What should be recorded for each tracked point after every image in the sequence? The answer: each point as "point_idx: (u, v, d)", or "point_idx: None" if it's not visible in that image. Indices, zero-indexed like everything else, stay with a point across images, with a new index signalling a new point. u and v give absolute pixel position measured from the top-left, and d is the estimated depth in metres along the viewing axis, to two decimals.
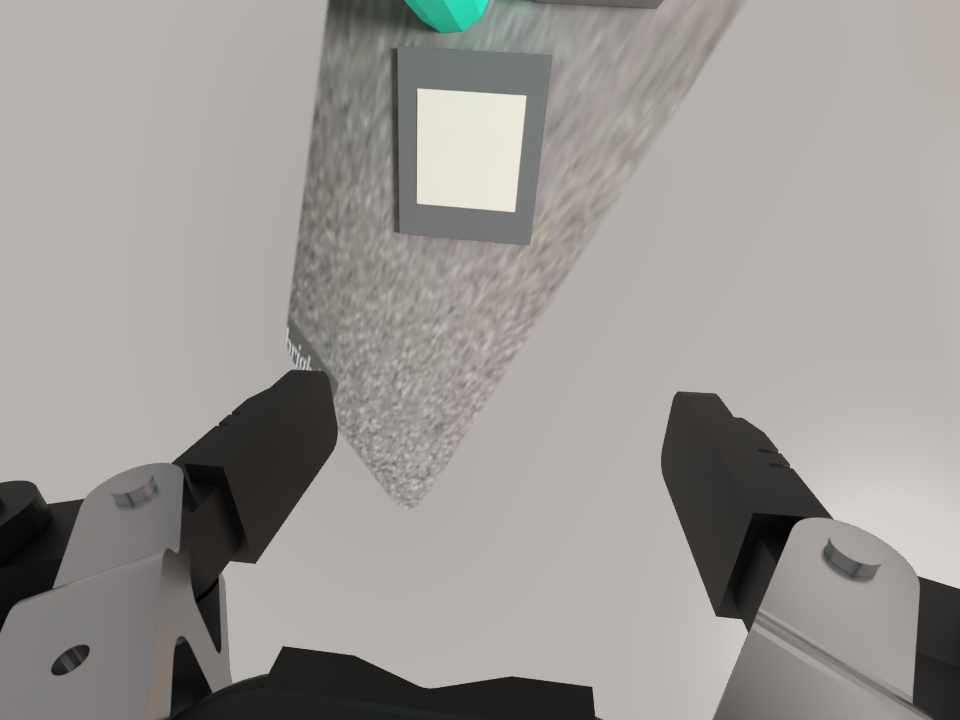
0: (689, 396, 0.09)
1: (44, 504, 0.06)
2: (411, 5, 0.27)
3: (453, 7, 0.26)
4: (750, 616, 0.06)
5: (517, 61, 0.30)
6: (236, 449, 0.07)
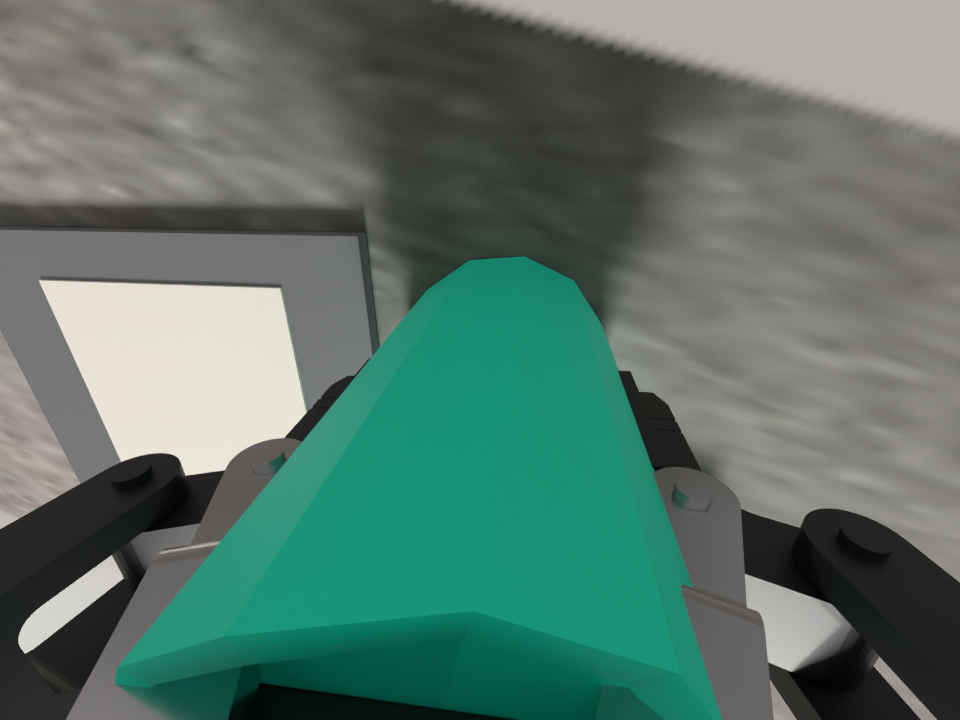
0: None
1: (184, 481, 0.07)
2: None
3: None
4: None
5: None
6: None
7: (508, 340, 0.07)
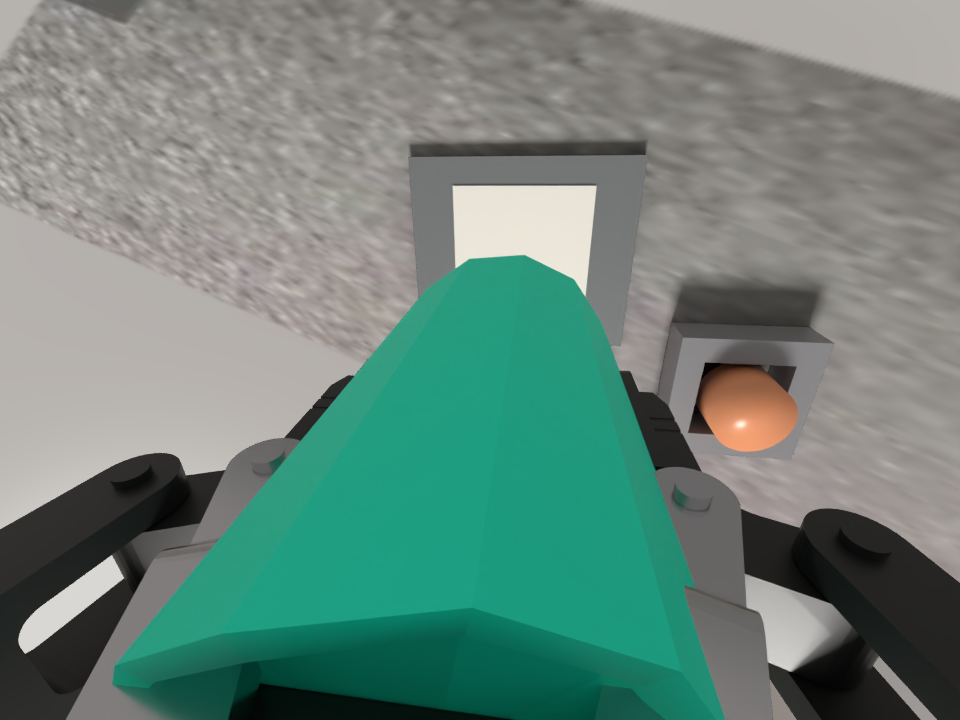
0: None
1: (184, 481, 0.07)
2: None
3: None
4: None
5: (617, 310, 0.27)
6: None
7: (508, 338, 0.07)
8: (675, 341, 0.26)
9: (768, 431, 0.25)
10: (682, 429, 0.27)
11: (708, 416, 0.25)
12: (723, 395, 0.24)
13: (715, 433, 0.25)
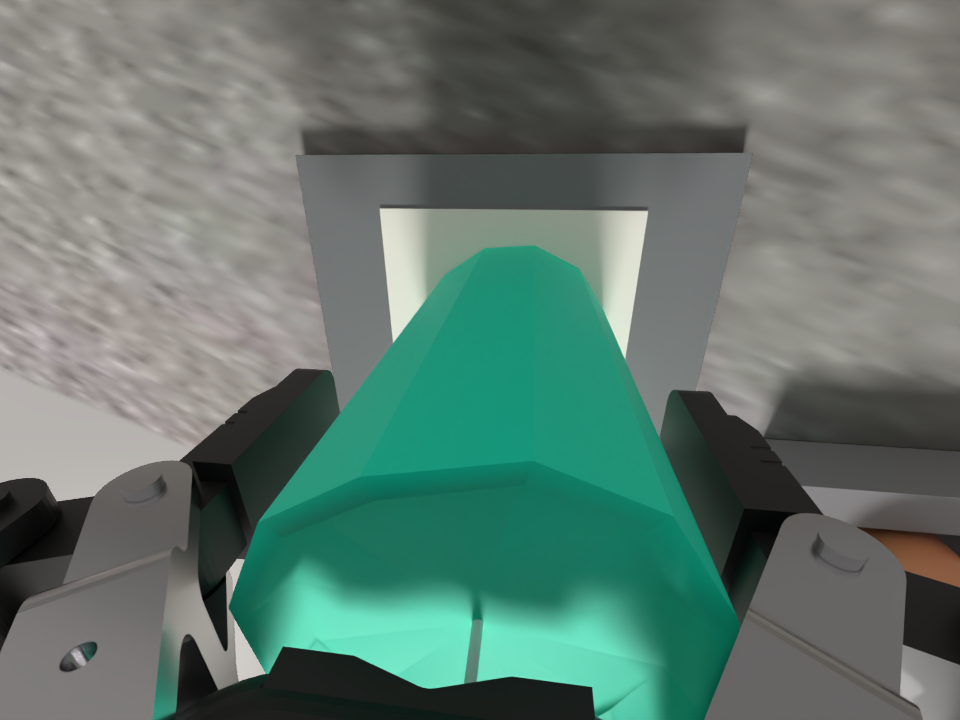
0: (683, 394, 0.09)
1: (54, 502, 0.06)
2: None
3: None
4: (742, 611, 0.06)
5: None
6: (243, 447, 0.07)
7: (530, 308, 0.08)
8: None
9: None
10: None
11: None
12: None
13: None
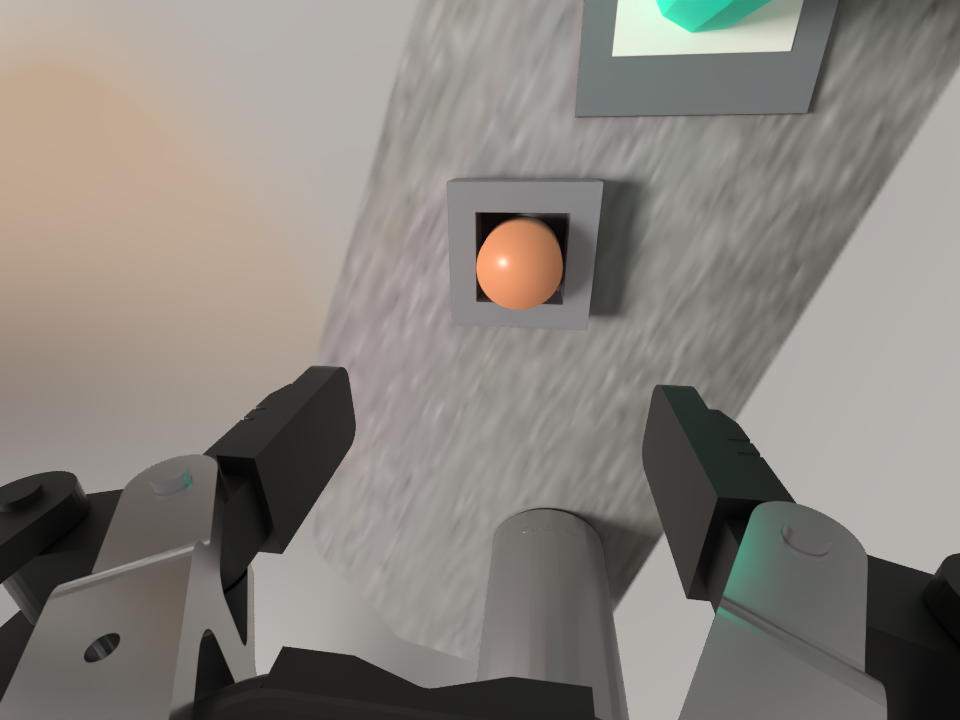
0: (666, 389, 0.09)
1: (83, 495, 0.06)
2: None
3: None
4: (716, 596, 0.06)
5: (625, 104, 0.22)
6: (265, 441, 0.07)
7: None
8: (587, 180, 0.23)
9: (504, 286, 0.23)
10: (479, 204, 0.23)
11: (514, 223, 0.22)
12: (546, 232, 0.21)
13: (498, 231, 0.21)
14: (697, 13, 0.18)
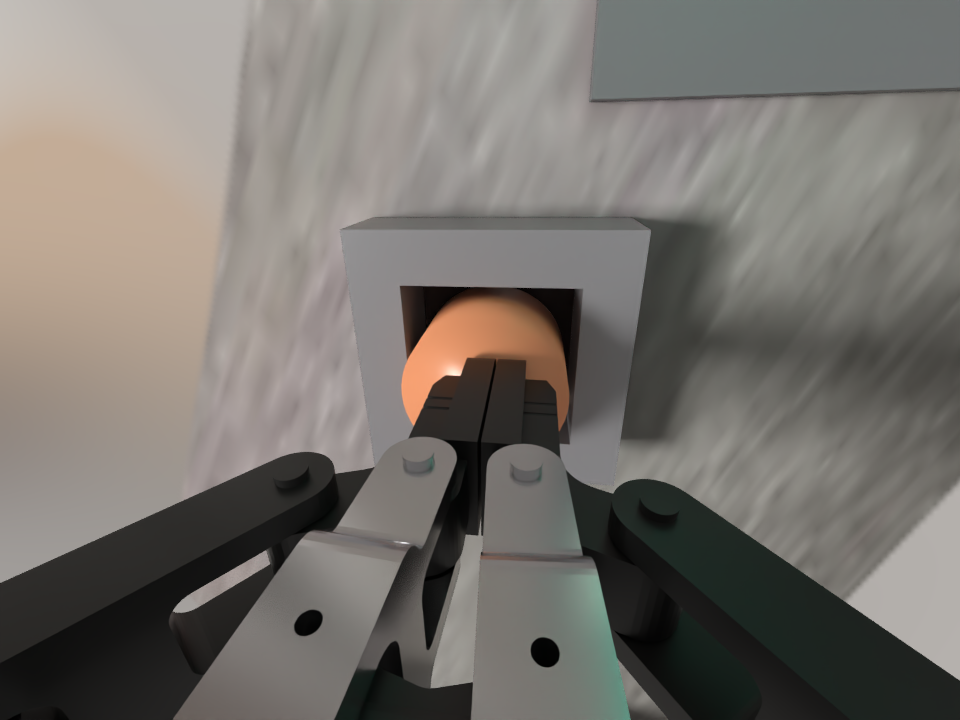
0: (501, 362, 0.10)
1: (334, 491, 0.07)
2: None
3: None
4: None
5: (691, 72, 0.11)
6: (475, 427, 0.08)
7: None
8: (614, 223, 0.12)
9: None
10: (406, 272, 0.12)
11: (472, 309, 0.11)
12: (535, 331, 0.11)
13: (439, 331, 0.11)
14: None
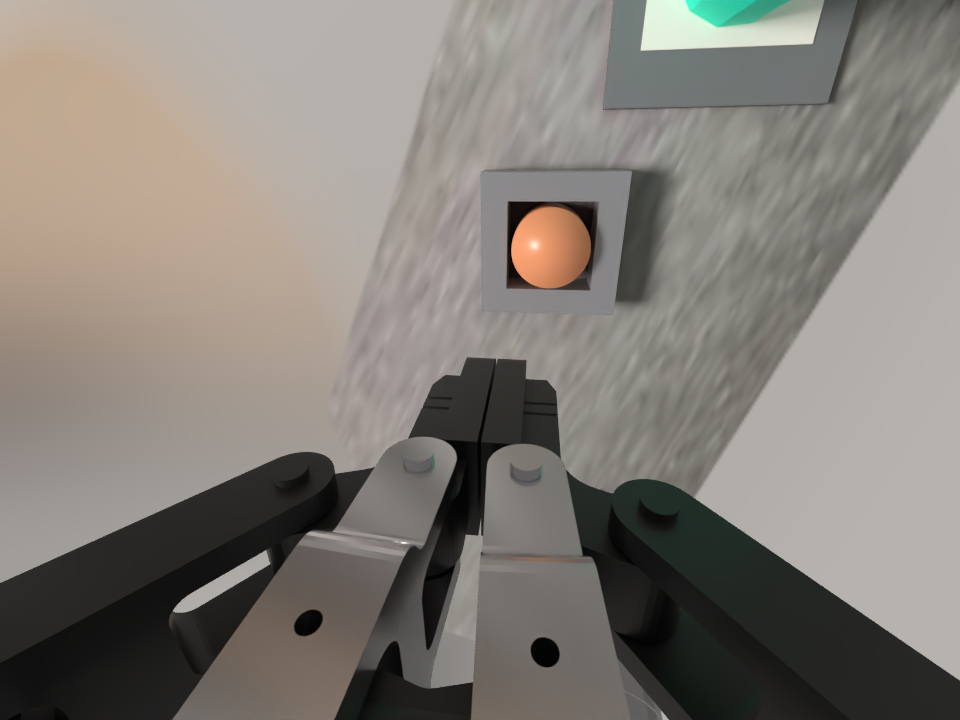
0: (501, 362, 0.10)
1: (334, 491, 0.07)
2: None
3: None
4: None
5: (652, 96, 0.23)
6: (475, 427, 0.08)
7: None
8: (614, 170, 0.24)
9: (536, 266, 0.25)
10: (512, 194, 0.24)
11: (546, 207, 0.24)
12: (576, 216, 0.24)
13: (532, 216, 0.24)
14: (725, 8, 0.19)
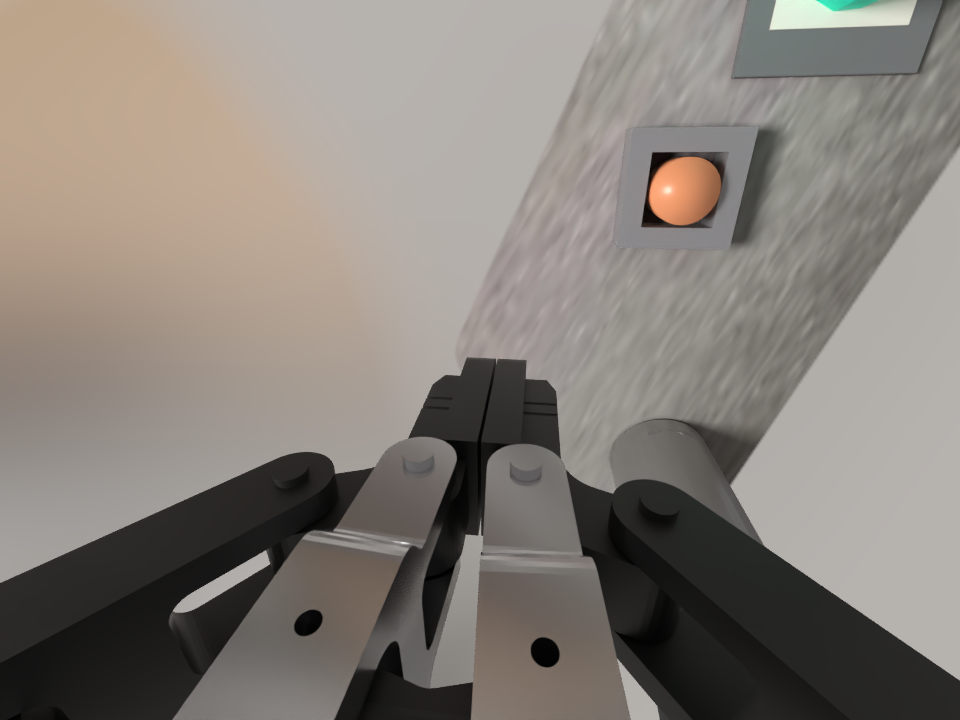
0: (501, 362, 0.10)
1: (334, 491, 0.07)
2: None
3: None
4: None
5: (775, 67, 0.28)
6: (475, 427, 0.08)
7: None
8: None
9: (673, 206, 0.30)
10: (656, 145, 0.30)
11: (684, 157, 0.29)
12: (710, 163, 0.29)
13: (675, 163, 0.29)
14: None
